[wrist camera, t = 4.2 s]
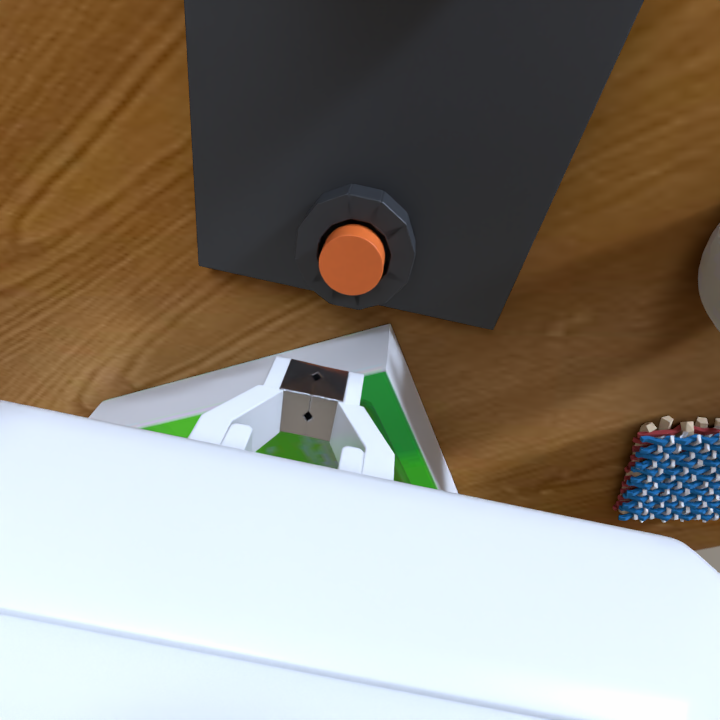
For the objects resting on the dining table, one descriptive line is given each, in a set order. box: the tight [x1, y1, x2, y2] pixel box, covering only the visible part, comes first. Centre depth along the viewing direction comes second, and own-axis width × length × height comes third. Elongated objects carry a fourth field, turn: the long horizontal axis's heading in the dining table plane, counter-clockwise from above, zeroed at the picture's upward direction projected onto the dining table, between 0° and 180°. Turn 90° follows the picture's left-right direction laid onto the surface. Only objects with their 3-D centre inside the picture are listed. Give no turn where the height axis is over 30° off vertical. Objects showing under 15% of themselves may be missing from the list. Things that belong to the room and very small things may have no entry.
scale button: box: [319, 224, 385, 295], centre depth 21 cm, size 3×3×2 cm
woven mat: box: [613, 416, 720, 522], centre depth 31 cm, size 10×11×2 cm
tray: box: [89, 324, 458, 494], centre depth 36 cm, size 25×25×5 cm
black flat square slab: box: [184, 0, 644, 330], centre depth 20 cm, size 16×18×3 cm
